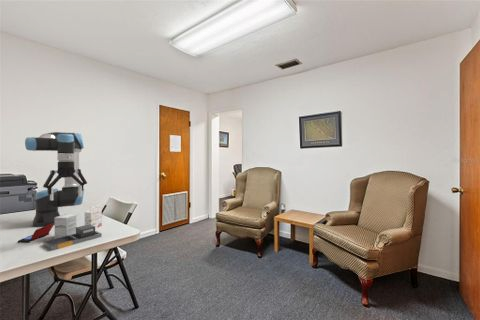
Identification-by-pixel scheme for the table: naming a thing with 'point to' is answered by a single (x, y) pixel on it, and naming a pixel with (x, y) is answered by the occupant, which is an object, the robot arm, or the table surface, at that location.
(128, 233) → the table surface
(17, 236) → the table surface
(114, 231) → the table surface
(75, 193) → the robot arm
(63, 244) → the rack
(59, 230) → the supplement box
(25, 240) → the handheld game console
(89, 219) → the ink cartridge box
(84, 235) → the dark grey box
